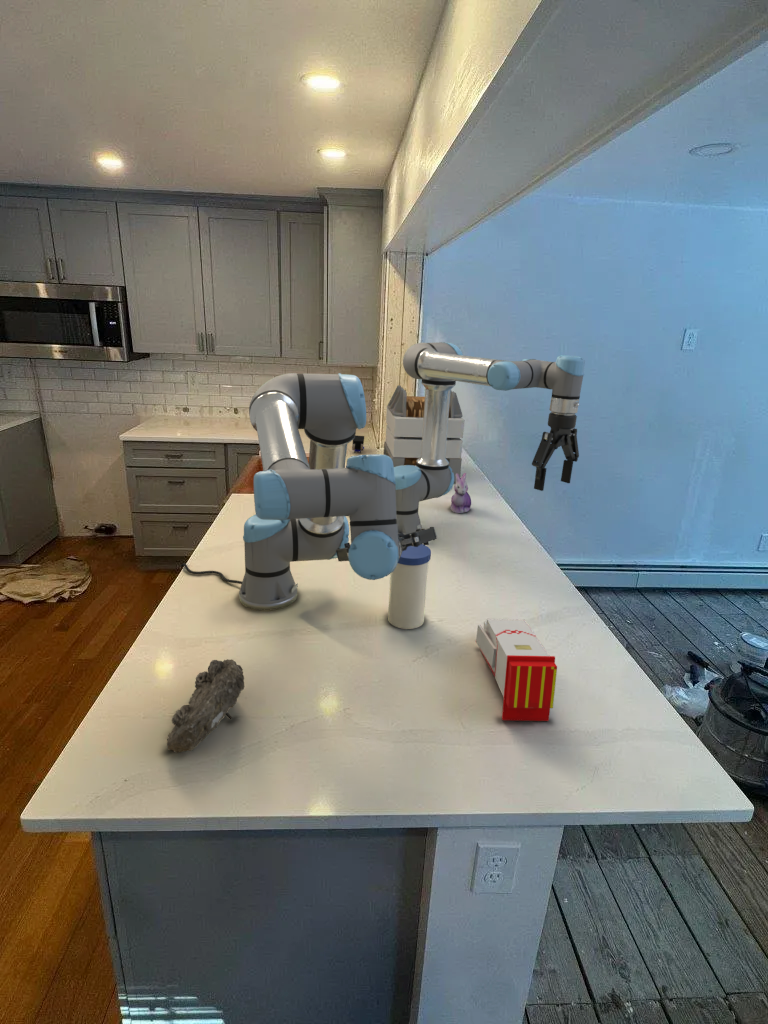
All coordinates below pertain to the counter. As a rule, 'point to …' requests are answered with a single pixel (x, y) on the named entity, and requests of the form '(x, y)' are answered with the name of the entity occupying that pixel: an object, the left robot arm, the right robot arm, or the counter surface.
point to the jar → (407, 595)
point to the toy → (519, 668)
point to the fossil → (206, 705)
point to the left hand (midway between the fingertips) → (388, 541)
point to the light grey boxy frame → (419, 430)
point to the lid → (415, 555)
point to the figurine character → (358, 443)
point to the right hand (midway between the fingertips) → (552, 485)
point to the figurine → (460, 496)
